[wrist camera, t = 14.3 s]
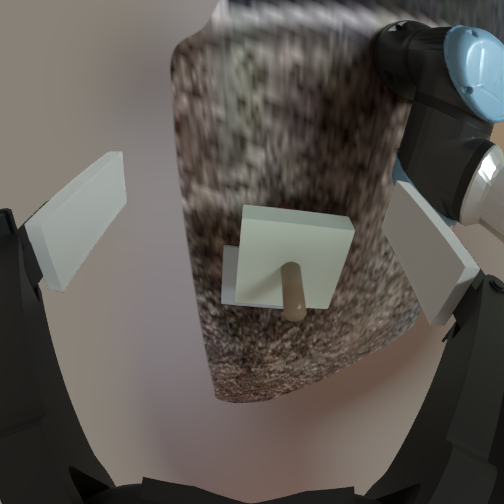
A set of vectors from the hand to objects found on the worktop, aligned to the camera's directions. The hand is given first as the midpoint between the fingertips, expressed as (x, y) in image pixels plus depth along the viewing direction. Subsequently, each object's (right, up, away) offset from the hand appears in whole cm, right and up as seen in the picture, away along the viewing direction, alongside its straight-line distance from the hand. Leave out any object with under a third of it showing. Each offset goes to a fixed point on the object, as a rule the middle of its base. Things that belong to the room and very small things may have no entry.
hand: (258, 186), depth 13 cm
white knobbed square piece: (+6, -3, +35) cm, 36 cm away
